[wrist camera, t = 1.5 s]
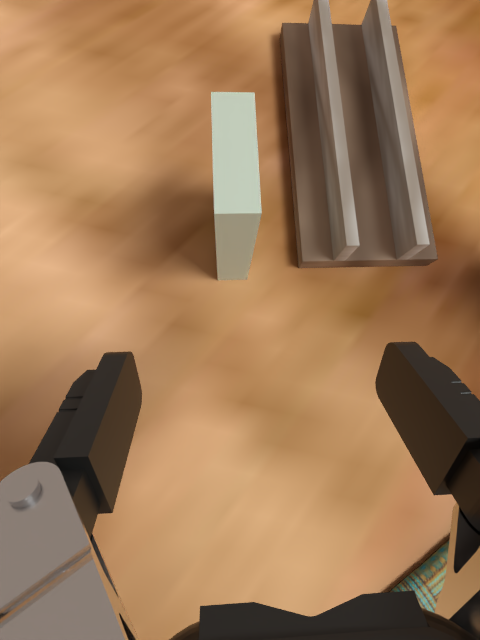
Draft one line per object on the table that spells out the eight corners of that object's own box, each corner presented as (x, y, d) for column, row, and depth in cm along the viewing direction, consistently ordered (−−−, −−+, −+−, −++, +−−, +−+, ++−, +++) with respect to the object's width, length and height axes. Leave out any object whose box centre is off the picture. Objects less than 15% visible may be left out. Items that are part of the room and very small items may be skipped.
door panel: (217, 280, 28) (214, 213, 17) (215, 198, 30) (211, 92, 19) (247, 279, 28) (261, 213, 18) (243, 198, 30) (254, 92, 19)
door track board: (298, 267, 29) (312, 246, 24) (279, 38, 34) (288, -14, 30) (426, 265, 29) (462, 243, 25) (388, 41, 35) (412, -10, 30)
